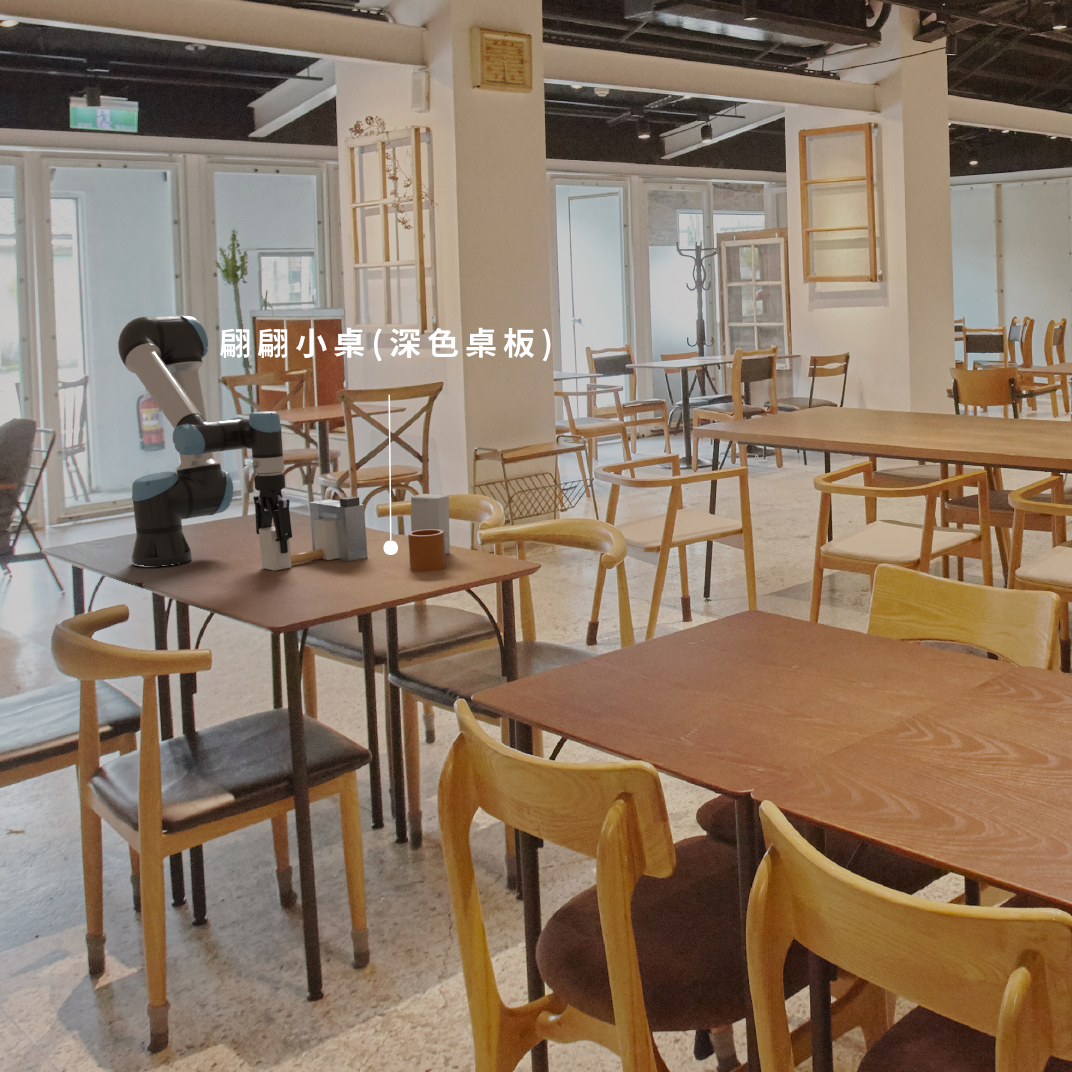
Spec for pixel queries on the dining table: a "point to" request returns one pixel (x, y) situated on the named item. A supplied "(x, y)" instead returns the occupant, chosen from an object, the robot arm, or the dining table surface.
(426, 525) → the skincare box
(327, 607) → the dining table surface
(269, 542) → the white block dumbbell
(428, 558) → the mug
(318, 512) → the gray notched block
